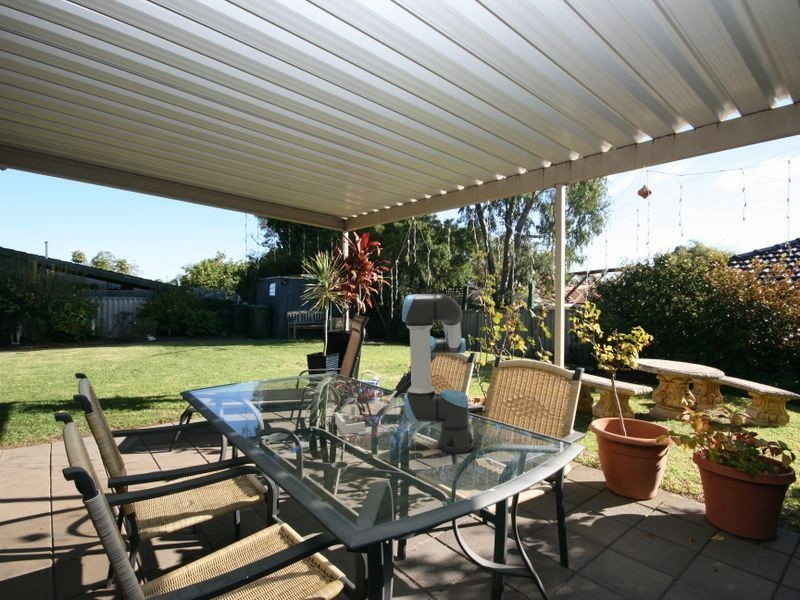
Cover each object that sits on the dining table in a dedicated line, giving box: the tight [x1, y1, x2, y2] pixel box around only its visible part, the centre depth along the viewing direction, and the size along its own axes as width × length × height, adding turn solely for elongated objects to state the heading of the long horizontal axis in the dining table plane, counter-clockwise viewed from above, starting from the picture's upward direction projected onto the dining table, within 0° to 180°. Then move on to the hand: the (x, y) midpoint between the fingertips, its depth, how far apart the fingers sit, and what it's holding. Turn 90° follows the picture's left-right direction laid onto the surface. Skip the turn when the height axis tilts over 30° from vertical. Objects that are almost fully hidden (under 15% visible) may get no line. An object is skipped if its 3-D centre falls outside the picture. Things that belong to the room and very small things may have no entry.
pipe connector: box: [342, 405, 364, 424], centre depth 209 cm, size 10×10×10 cm
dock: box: [334, 411, 368, 437], centre depth 208 cm, size 26×11×6 cm, turn 21°
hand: (389, 402), depth 215 cm, fingers closed
